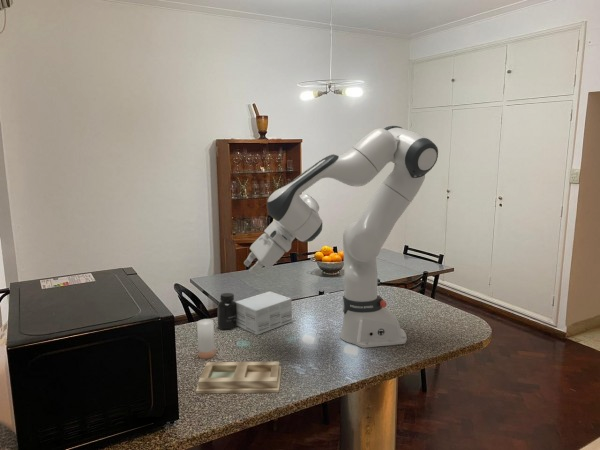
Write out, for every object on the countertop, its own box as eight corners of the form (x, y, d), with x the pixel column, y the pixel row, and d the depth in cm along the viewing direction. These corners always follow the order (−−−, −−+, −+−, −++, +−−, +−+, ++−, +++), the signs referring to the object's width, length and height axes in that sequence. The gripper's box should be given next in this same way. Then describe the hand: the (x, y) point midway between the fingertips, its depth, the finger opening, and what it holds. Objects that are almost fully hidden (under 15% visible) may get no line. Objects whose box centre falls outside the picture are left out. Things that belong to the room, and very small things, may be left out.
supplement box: (270, 313, 174) (269, 290, 173) (292, 322, 165) (292, 298, 163) (234, 325, 163) (233, 300, 161) (256, 335, 153) (255, 309, 152)
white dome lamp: (216, 351, 142) (215, 318, 140) (213, 358, 137) (211, 325, 135) (200, 351, 142) (198, 318, 140) (196, 359, 137) (194, 325, 135)
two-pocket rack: (281, 368, 130) (281, 359, 129) (278, 392, 117) (278, 382, 116) (206, 369, 130) (206, 360, 129) (195, 393, 117) (195, 383, 117)
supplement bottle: (232, 330, 158) (232, 298, 156) (214, 329, 159) (214, 296, 157) (239, 323, 164) (239, 292, 163) (221, 322, 166) (221, 291, 164)
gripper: (264, 224, 149) (235, 255, 148) (277, 236, 129) (245, 271, 128) (277, 236, 151) (249, 266, 150) (292, 249, 131) (260, 284, 130)
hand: (247, 268), depth 139 cm, fingers open, 8 cm apart
